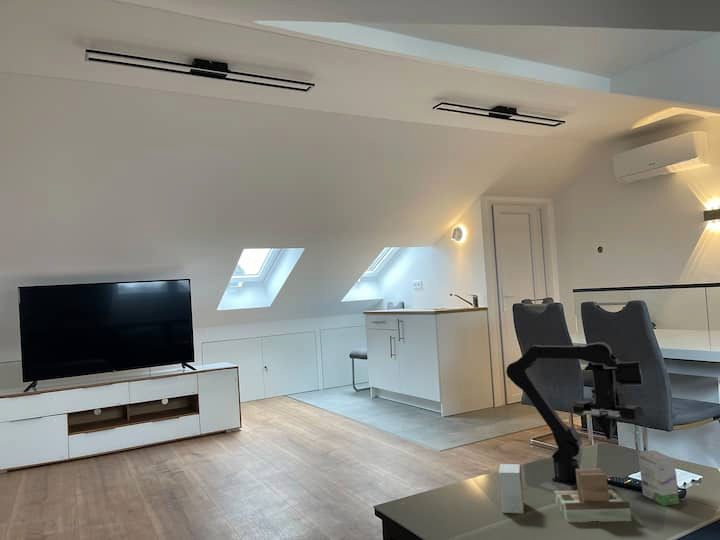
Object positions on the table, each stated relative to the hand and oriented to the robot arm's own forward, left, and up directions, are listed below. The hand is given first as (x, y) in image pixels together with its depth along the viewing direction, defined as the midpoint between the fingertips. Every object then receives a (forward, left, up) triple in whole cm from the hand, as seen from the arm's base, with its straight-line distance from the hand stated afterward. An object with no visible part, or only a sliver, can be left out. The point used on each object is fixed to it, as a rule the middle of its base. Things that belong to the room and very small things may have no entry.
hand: (609, 439), depth 153 cm
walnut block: (+7, -24, -10) cm, 27 cm away
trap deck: (+5, -22, -13) cm, 26 cm away
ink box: (+14, -3, -13) cm, 20 cm away
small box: (-11, -33, -13) cm, 37 cm away
